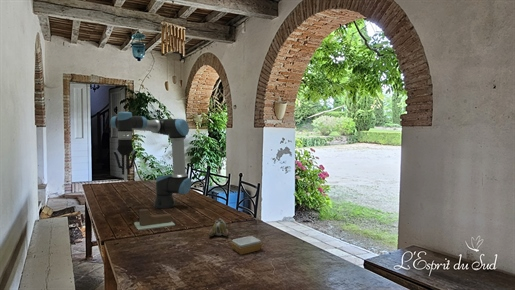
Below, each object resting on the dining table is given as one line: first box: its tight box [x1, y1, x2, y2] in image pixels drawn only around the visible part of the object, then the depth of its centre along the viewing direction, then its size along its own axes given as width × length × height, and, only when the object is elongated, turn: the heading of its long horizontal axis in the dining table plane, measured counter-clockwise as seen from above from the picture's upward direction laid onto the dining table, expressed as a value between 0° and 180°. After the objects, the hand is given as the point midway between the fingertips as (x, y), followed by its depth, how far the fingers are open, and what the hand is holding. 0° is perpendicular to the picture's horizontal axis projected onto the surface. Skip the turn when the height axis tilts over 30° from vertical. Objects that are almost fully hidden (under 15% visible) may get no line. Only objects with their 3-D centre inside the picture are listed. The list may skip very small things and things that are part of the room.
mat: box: [133, 220, 176, 231], centre depth 195 cm, size 21×15×1 cm
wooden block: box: [138, 208, 172, 226], centre depth 195 cm, size 9×4×18 cm
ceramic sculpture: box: [208, 217, 230, 237], centre depth 177 cm, size 11×9×15 cm
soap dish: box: [230, 235, 263, 255], centre depth 155 cm, size 12×10×5 cm
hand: (125, 180), depth 186 cm, fingers closed
